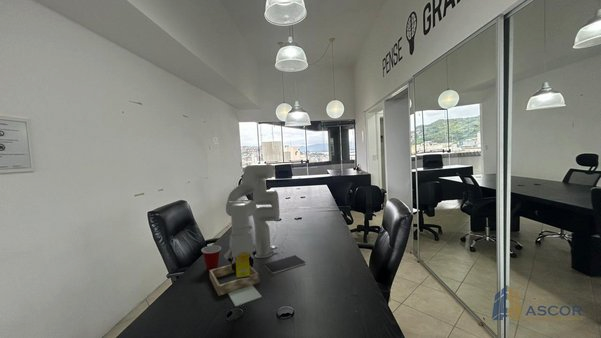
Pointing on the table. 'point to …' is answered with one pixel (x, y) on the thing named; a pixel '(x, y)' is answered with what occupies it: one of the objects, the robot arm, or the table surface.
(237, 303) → the mat
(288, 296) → the table surface
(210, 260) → the plastic cup
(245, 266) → the supplement box
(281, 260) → the notebook
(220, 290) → the wooden frame
